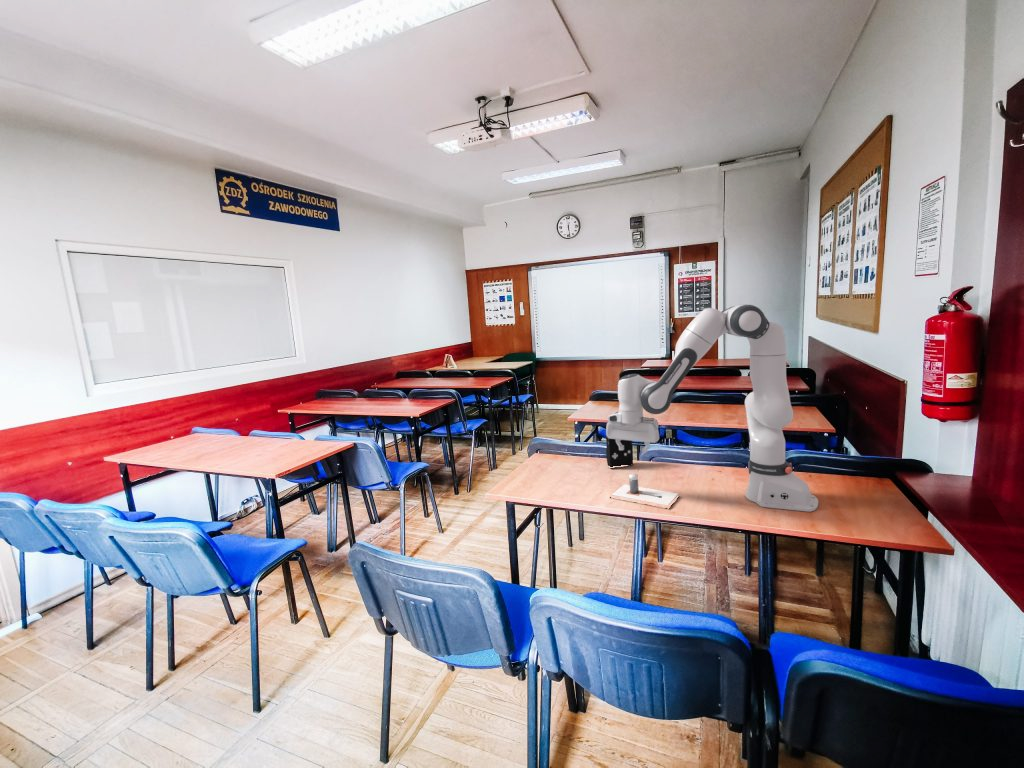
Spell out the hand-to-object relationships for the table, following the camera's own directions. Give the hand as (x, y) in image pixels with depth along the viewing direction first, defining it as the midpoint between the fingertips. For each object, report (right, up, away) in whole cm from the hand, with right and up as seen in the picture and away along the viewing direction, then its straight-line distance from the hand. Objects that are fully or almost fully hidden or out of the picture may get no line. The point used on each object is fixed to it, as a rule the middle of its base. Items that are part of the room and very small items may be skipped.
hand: (633, 451), depth 171 cm
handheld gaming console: (+4, -13, +37) cm, 39 cm away
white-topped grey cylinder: (+1, -16, +2) cm, 17 cm away
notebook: (+5, -18, 0) cm, 18 cm away
